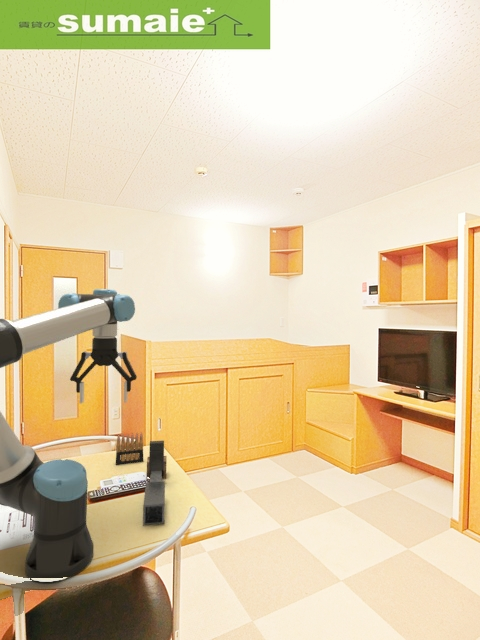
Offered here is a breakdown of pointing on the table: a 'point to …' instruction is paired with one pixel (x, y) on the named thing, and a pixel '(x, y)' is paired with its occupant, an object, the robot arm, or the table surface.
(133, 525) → the table surface
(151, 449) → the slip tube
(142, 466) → the table surface
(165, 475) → the brown block
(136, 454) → the ammunition clip
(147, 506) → the sleeve
